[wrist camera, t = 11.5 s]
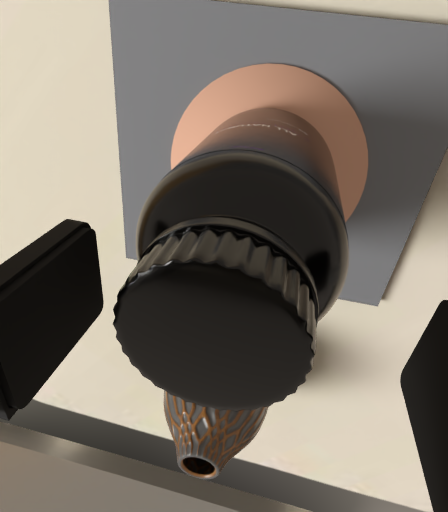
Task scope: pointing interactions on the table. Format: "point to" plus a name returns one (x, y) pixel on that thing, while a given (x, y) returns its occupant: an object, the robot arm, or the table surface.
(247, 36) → the mat
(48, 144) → the table surface
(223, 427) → the vase
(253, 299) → the supplement bottle
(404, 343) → the table surface
